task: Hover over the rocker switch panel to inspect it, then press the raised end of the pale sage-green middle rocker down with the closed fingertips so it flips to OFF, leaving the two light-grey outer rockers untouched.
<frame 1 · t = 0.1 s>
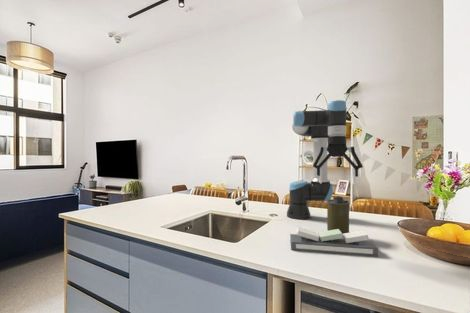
hand: (336, 183, 104), 28 cm above the worktop, fingers open, 13 cm apart
rocker 2: (354, 236, 100), point 6 cm above the worktop, hinge at 14.0°
rocker mid: (330, 235, 102), point 6 cm above the worktop, hinge at 14.0°
rocker switch panel: (330, 248, 102), on the worktop
canister: (338, 236, 117), on the worktop
rocker 1: (307, 233, 104), point 6 cm above the worktop, hinge at -14.0°
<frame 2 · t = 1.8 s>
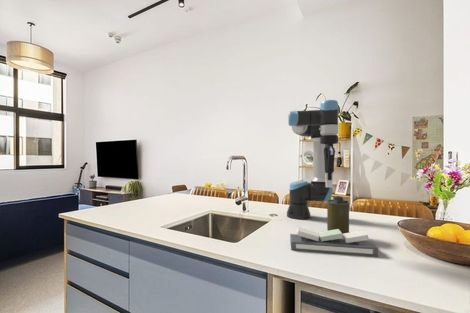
hand: (329, 187, 105), 26 cm above the worktop, fingers closed
nothing on the worktop moved.
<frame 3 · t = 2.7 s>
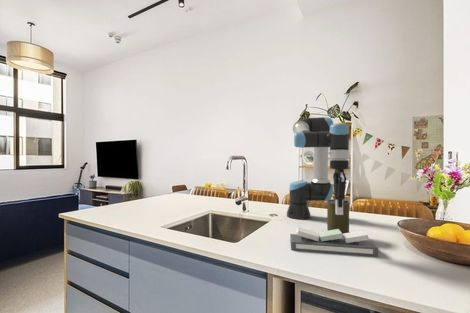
hand: (339, 214, 101), 15 cm above the worktop, fingers closed
nothing on the worktop moved.
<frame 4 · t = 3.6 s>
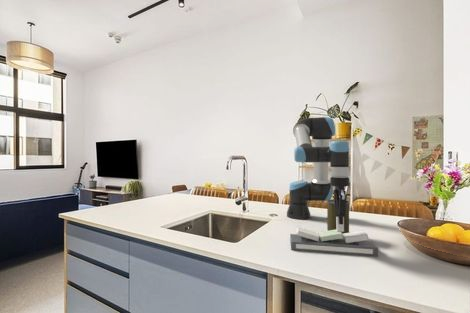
hand: (340, 231, 101), 8 cm above the worktop, fingers closed
rocker mid: (330, 235, 102), point 6 cm above the worktop, hinge at 13.5°, touching gripper
everything else where it was.
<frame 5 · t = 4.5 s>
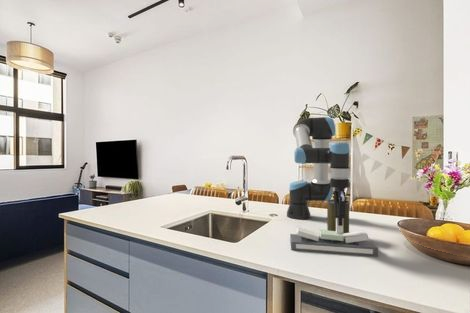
hand: (339, 232, 101), 7 cm above the worktop, fingers closed
rocker mid: (330, 235, 102), point 6 cm above the worktop, hinge at -2.2°
everything else where it was.
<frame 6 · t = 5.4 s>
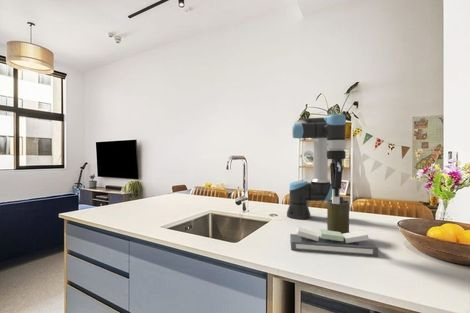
hand: (335, 203, 103), 19 cm above the worktop, fingers closed
rocker mid: (330, 235, 102), point 6 cm above the worktop, hinge at -5.0°
everything else where it was.
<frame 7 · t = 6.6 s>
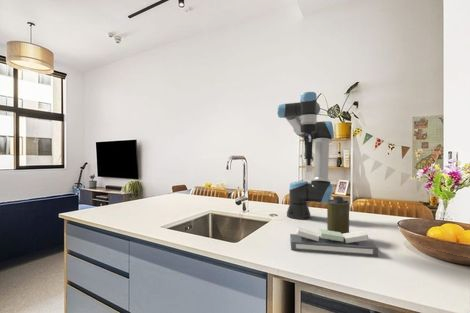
hand: (308, 172, 115), 32 cm above the worktop, fingers closed
rocker mid: (330, 235, 102), point 6 cm above the worktop, hinge at -6.2°
everything else where it was.
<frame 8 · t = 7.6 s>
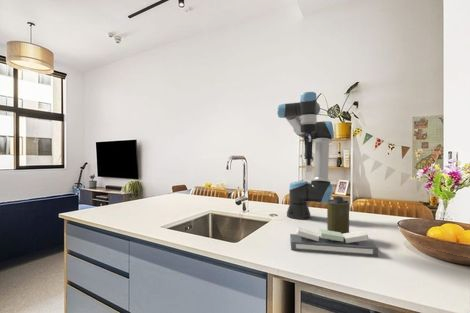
hand: (308, 172, 115), 32 cm above the worktop, fingers closed
nothing on the worktop moved.
at the end: rocker mid at -6° (first picture: +14°); rocker 2 at +14° (first picture: +14°); rocker 1 at -14° (first picture: -14°) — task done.
